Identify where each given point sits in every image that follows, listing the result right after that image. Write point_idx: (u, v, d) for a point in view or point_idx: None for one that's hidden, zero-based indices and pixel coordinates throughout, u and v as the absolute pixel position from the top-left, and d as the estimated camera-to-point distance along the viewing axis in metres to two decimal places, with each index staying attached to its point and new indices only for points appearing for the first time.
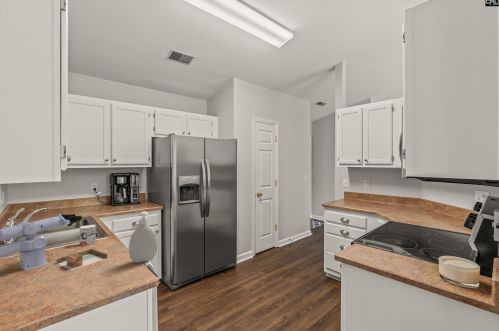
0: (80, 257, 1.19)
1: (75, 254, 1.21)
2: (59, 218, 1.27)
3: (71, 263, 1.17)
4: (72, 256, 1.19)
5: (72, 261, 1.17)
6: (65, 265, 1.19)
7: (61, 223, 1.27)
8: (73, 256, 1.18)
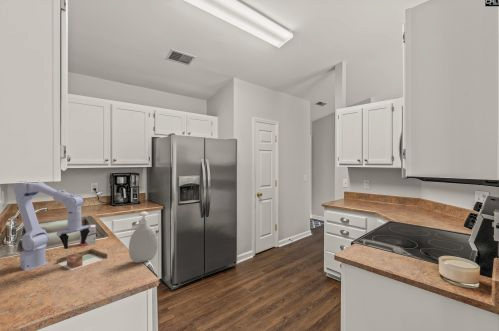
0: (80, 257, 1.19)
1: (75, 254, 1.21)
2: (71, 228, 1.17)
3: (71, 263, 1.17)
4: (72, 256, 1.19)
5: (72, 261, 1.17)
6: (65, 265, 1.19)
7: None
8: (73, 256, 1.18)
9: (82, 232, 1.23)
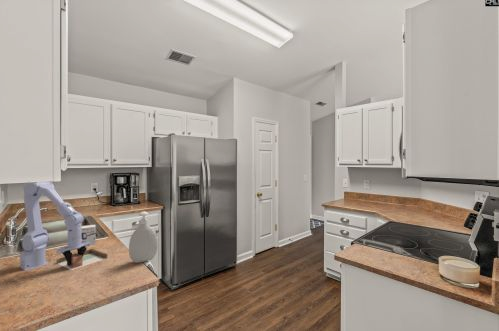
0: (80, 257, 1.19)
1: (75, 254, 1.21)
2: (71, 246, 1.17)
3: (71, 263, 1.17)
4: (72, 256, 1.19)
5: (72, 261, 1.17)
6: (65, 265, 1.19)
7: (67, 246, 1.18)
8: (73, 256, 1.18)
9: (79, 250, 1.21)
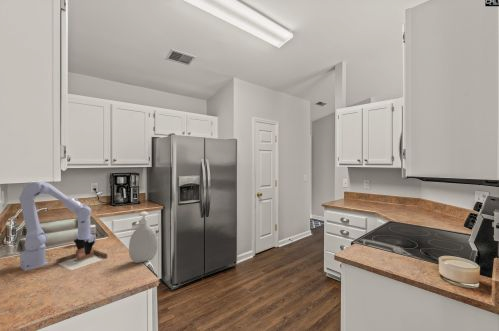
0: None
1: (81, 249, 1.28)
2: (89, 234, 1.29)
3: (88, 254, 1.28)
4: None
5: None
6: (65, 265, 1.19)
7: (84, 237, 1.26)
8: None
9: (80, 241, 1.30)
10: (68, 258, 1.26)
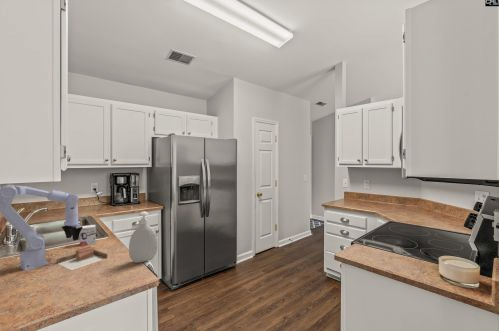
0: None
1: (81, 249, 1.28)
2: (77, 221, 1.31)
3: (88, 254, 1.28)
4: (85, 249, 1.28)
5: (90, 251, 1.29)
6: (65, 265, 1.19)
7: (72, 223, 1.28)
8: (87, 248, 1.29)
9: (68, 227, 1.32)
10: (68, 258, 1.26)
